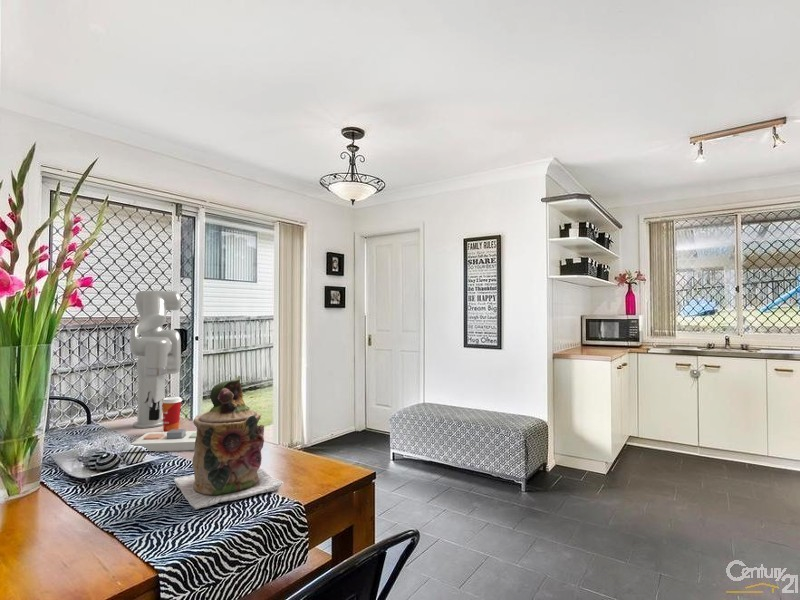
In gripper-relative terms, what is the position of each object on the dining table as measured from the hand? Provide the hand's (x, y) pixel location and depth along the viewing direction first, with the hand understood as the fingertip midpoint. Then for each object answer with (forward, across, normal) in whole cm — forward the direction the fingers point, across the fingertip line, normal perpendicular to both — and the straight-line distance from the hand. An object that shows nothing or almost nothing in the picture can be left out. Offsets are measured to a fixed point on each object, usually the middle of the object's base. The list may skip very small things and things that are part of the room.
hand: (154, 419), depth 171 cm
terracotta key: (+8, +1, 0) cm, 8 cm away
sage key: (+8, +1, +16) cm, 18 cm away
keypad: (+9, +1, +8) cm, 13 cm away
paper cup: (+10, -19, 0) cm, 21 cm away
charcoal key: (+7, +1, +8) cm, 11 cm away
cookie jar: (+8, +47, +36) cm, 60 cm away
